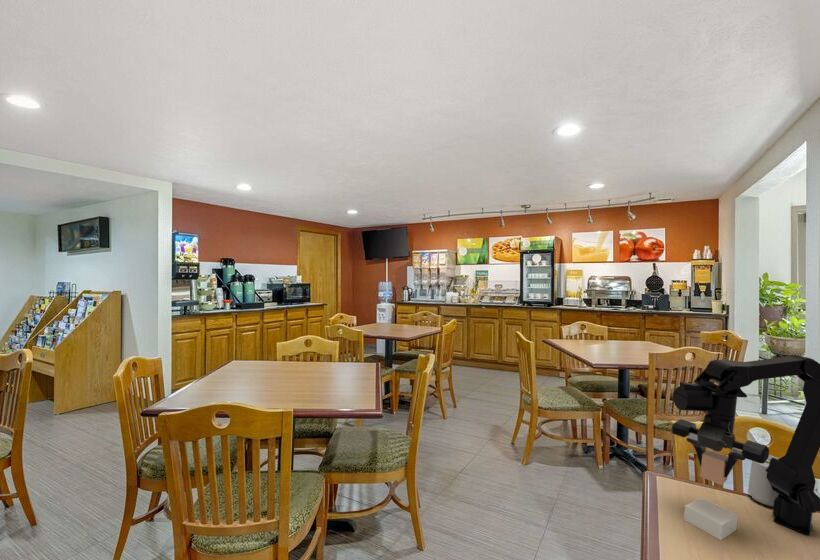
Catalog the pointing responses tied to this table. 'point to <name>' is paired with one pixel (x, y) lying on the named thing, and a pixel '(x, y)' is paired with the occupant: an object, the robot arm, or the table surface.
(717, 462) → the block
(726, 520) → the white rectangular box
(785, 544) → the table surface
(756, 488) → the can
